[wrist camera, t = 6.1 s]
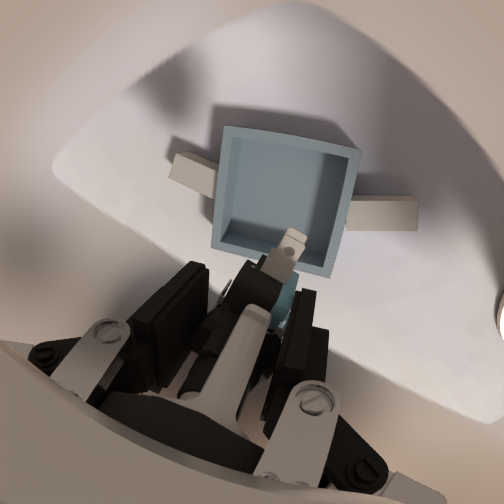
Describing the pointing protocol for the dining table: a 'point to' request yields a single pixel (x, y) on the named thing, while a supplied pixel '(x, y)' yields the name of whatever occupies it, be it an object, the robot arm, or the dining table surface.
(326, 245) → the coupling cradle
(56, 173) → the dining table surface
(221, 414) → the push button
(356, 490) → the robot arm
